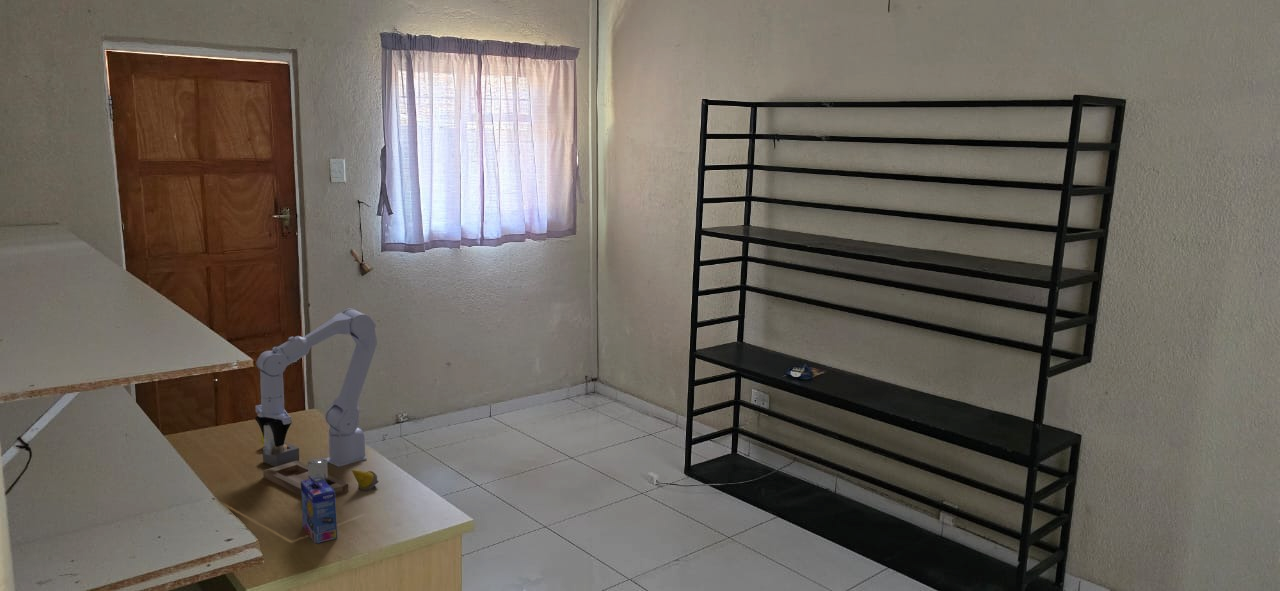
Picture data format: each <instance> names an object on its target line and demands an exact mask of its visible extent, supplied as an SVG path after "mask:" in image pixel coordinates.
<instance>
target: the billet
mask: <svg viewBox="0 0 1280 591" xmlns="http://www.w3.org/2000/svg"><path fill="white" fill-rule="evenodd" d="M307 465H308V480H311V479H310V478H309V476H310V477H311V478H312V479H316V478H320V477H321V478H323V479H324V480H325V481H326V482H327V484H328V475H329V472H328V471H329V470H328V462H327V460H326V459H325V458H323V457H322V458H320V457H319V458H312V459H310V460H308V461H307Z"/></svg>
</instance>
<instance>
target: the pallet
mask: <svg viewBox="0 0 1280 591" xmlns="http://www.w3.org/2000/svg"><path fill="white" fill-rule="evenodd" d="M262 474H263V478H264V479H265V480H268V481H270V482H272V483H274V484H276V485H277V486H279V487H282V488H284V489H286V490H288V491H290V492H292V493H294V494H296V495H298V496H300V497H302V495H301V482H302V481H305V480H308V464H305V463H303V462H301V461H300V460H299V461H293V462H290V463H287V464H283V465H280V466H276V467H273V466H272V467H269V468H266V469H263V473H262ZM328 485H329V486H331V487H332V488H333V489H334V490H335V497H336V496H339V495H342V494H344V493H348V492H349V483H347V482H345V481H344V480H340V479H338V478H336V477H334V476H332V475H330V474H328Z"/></svg>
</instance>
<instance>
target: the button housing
mask: <svg viewBox="0 0 1280 591" xmlns="http://www.w3.org/2000/svg"><path fill="white" fill-rule="evenodd" d="M284 444H285V445H287V449H286V450H284V452H283V453H281V454H278V455H267V454H265V447H262V462H263V463H265V464H268V465H269V466H271V467H272V468H273V467H276V466H280V465H283V464H287V463H290V462H293V461H299V462H300V448H299V447H297V446H295V445H293V444H291V443H289V442H286V441H284Z"/></svg>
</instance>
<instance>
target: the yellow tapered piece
mask: <svg viewBox="0 0 1280 591" xmlns="http://www.w3.org/2000/svg"><path fill="white" fill-rule="evenodd" d="M351 472H352V474H353V476H354V478H355V481H356V482H357V486H358V488H359V489H360V490H362V491H371V490H372V489H373V488H374V487H375V486H376V485H377V484H378V483H379V480H378V475H377V474H376V473H375V472H374V471H372V470H369V471H362V470H356V469H351Z"/></svg>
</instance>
